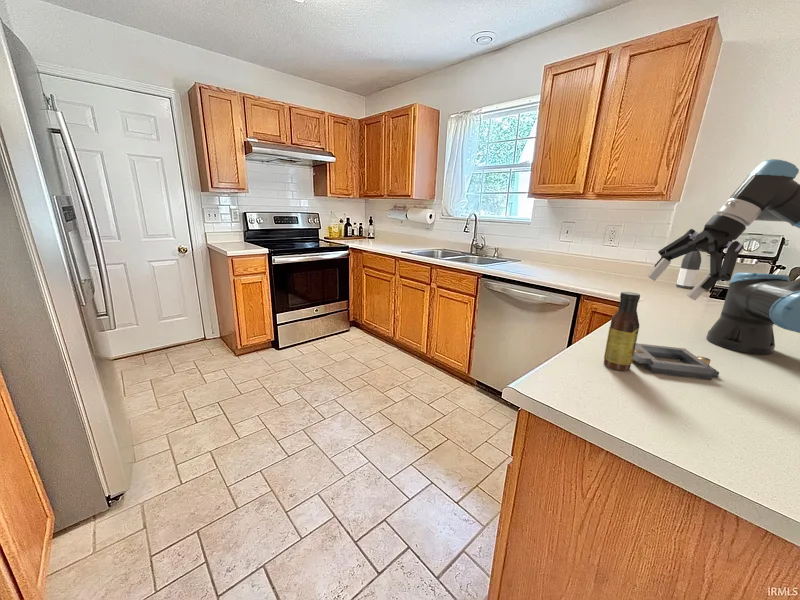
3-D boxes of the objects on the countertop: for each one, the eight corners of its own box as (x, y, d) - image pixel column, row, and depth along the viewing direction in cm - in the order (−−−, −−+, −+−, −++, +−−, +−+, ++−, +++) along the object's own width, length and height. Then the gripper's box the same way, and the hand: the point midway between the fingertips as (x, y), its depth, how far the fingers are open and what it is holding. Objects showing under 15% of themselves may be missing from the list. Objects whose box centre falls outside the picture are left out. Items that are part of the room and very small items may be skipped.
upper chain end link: (681, 358, 95) (684, 348, 94) (710, 380, 82) (714, 369, 82) (620, 351, 98) (622, 341, 97) (639, 371, 86) (642, 360, 85)
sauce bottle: (634, 373, 85) (652, 297, 80) (607, 370, 86) (623, 295, 81) (623, 362, 91) (639, 291, 86) (598, 359, 92) (612, 289, 87)
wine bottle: (681, 288, 185) (695, 233, 177) (672, 285, 192) (685, 232, 184) (697, 289, 183) (712, 234, 175) (688, 286, 191) (702, 232, 183)
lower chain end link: (692, 359, 94) (695, 349, 93) (722, 381, 82) (726, 370, 81) (630, 352, 98) (632, 342, 97) (650, 372, 85) (653, 362, 85)
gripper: (680, 205, 97) (628, 266, 104) (776, 224, 75) (701, 301, 82) (696, 217, 99) (644, 276, 106) (793, 239, 77) (720, 313, 84)
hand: (669, 287), depth 94 cm, fingers open, 13 cm apart
